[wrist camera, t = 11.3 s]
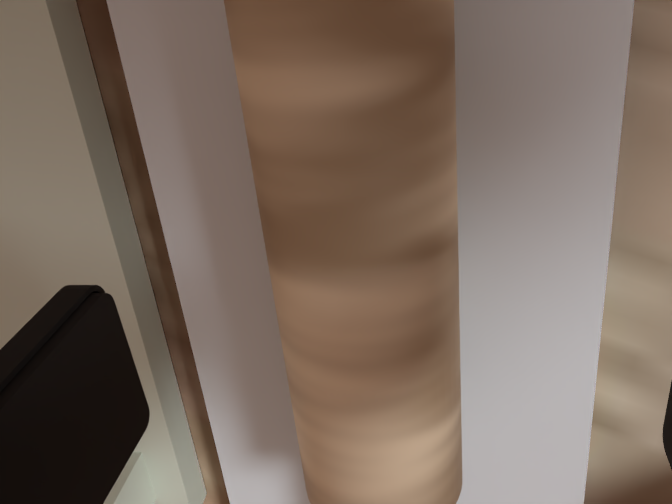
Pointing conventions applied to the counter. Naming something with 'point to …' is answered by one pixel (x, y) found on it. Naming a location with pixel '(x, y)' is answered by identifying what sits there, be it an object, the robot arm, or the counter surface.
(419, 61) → the rolling pin
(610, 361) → the counter surface
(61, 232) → the pin stand
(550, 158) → the pastry board
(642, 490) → the counter surface
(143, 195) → the counter surface
